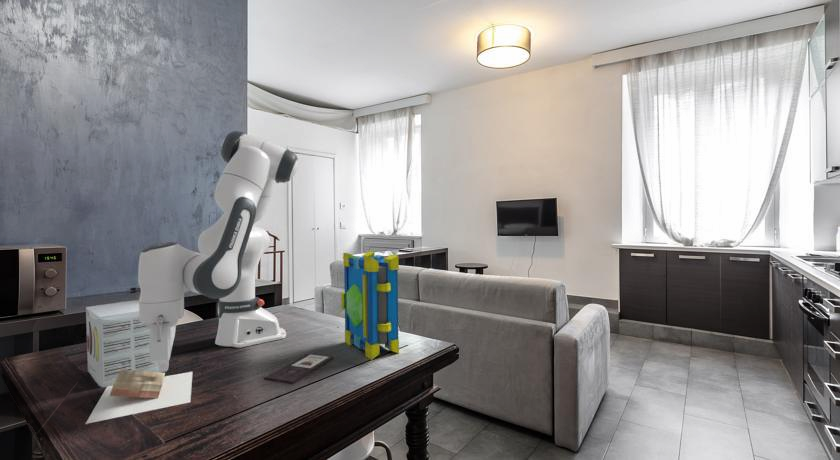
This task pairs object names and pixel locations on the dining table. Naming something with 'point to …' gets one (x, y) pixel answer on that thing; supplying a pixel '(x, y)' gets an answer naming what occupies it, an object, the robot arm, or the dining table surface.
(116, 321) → the supplement box
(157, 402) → the mat
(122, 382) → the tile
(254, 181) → the robot arm
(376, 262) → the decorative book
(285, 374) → the chocolate bar
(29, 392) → the dining table surface
